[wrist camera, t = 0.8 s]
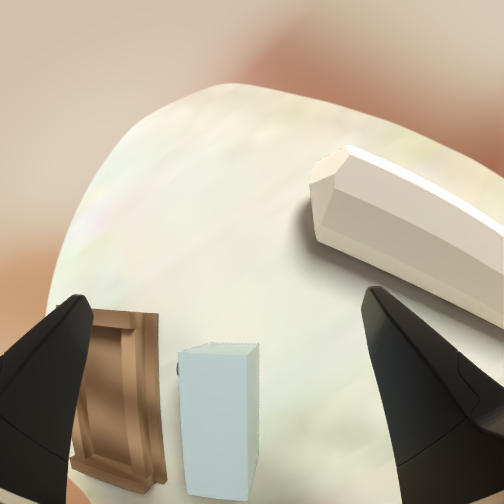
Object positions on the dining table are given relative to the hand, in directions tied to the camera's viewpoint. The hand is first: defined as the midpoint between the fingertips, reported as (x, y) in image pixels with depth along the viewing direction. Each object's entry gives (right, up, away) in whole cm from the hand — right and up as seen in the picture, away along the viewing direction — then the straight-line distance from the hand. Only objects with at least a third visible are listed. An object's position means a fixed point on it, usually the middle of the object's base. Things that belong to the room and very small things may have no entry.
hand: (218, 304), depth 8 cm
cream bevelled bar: (+16, +2, +12) cm, 20 cm away
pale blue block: (0, -9, +11) cm, 14 cm away
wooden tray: (-11, -11, +12) cm, 19 cm away
